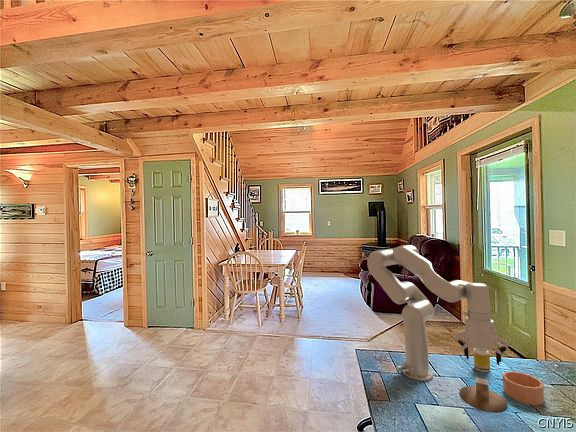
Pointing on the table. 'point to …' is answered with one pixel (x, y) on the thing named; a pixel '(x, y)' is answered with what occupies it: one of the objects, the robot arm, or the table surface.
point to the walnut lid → (483, 397)
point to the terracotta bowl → (523, 388)
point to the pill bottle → (481, 359)
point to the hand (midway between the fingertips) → (482, 360)
